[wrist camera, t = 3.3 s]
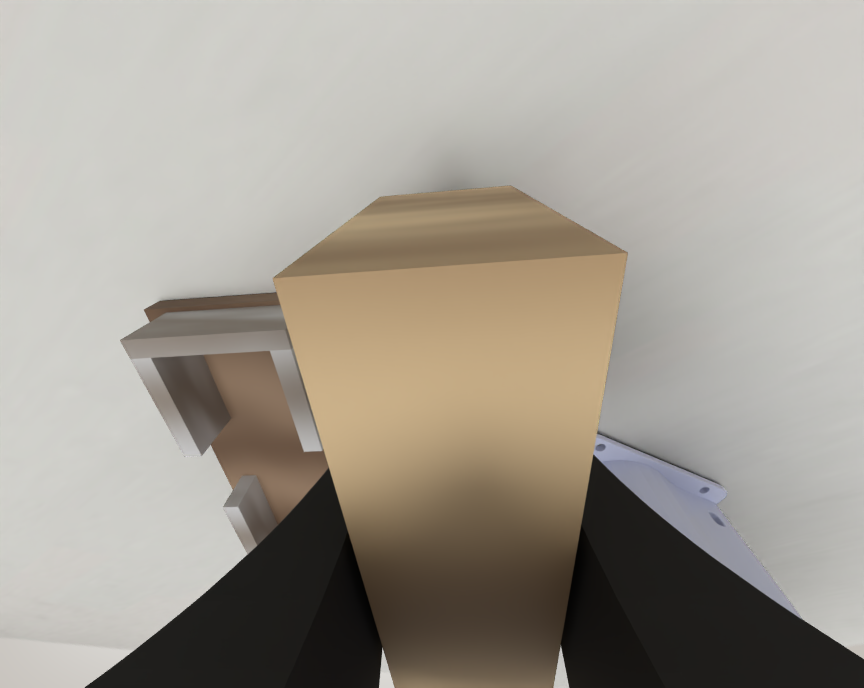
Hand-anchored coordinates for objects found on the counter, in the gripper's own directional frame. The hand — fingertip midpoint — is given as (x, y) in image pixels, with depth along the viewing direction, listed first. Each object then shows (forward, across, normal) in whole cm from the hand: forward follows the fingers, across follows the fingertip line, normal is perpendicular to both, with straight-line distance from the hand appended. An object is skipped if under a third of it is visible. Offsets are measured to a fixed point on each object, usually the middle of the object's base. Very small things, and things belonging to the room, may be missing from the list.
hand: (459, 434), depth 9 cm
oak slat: (+2, 0, 0) cm, 2 cm away
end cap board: (+8, +9, +7) cm, 14 cm away
